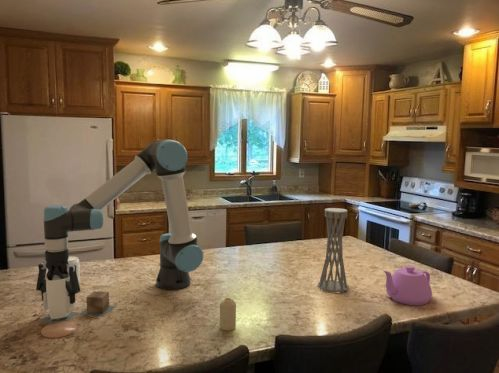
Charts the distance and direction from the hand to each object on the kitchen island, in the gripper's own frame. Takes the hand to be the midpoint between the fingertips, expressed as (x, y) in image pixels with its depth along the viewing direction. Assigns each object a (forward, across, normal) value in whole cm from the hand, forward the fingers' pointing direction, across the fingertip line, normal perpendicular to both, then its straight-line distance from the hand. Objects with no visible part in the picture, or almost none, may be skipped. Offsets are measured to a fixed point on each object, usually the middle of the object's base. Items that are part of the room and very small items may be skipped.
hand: (58, 310), depth 148 cm
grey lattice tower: (+3, -96, -57) cm, 112 cm away
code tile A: (+2, 0, 0) cm, 2 cm away
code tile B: (+2, -10, -9) cm, 14 cm away
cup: (+3, 0, 0) cm, 3 cm away
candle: (+3, -61, -7) cm, 61 cm away
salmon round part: (+2, -7, +9) cm, 12 cm away
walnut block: (+2, -10, -9) cm, 14 cm away
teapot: (+3, -126, -51) cm, 136 cm away
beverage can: (+3, +17, -30) cm, 35 cm away
